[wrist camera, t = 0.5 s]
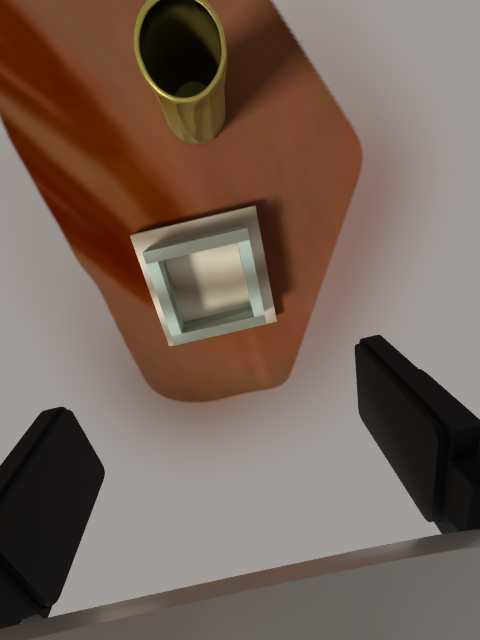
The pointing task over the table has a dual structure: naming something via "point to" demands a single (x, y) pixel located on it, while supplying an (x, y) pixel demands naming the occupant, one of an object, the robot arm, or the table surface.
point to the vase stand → (207, 275)
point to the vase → (184, 65)
